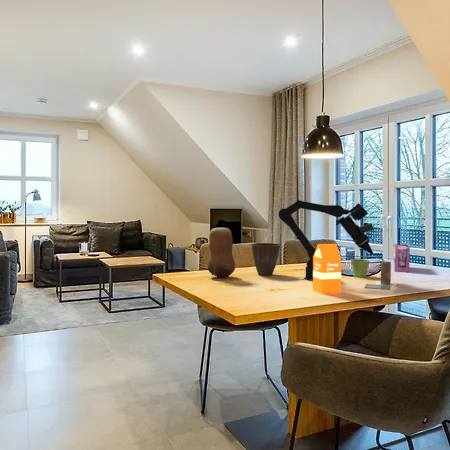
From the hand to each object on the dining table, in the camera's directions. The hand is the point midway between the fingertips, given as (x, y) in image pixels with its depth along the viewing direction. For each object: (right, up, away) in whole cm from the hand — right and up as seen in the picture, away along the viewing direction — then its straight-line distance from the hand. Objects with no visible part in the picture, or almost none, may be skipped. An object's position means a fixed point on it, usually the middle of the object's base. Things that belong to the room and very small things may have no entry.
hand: (371, 253), depth 208 cm
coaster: (-3, -14, -15) cm, 21 cm away
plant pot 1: (-48, -13, +22) cm, 55 cm away
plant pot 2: (-1, -13, +15) cm, 20 cm away
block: (+4, -14, -7) cm, 16 cm away
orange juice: (-27, -15, -25) cm, 39 cm away
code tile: (+4, -14, -7) cm, 16 cm away
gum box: (+32, -12, +45) cm, 57 cm away
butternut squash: (-71, -13, +12) cm, 74 cm away
